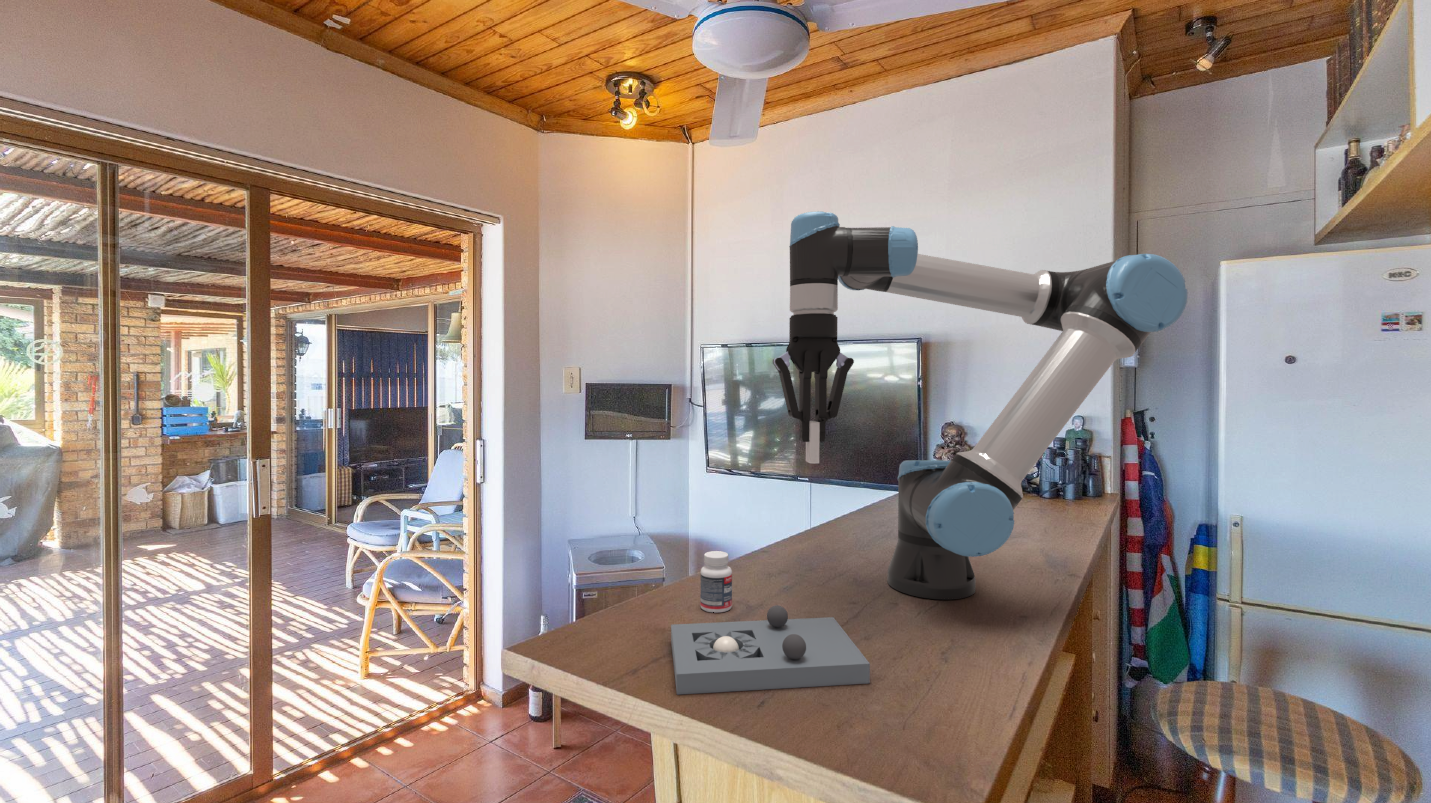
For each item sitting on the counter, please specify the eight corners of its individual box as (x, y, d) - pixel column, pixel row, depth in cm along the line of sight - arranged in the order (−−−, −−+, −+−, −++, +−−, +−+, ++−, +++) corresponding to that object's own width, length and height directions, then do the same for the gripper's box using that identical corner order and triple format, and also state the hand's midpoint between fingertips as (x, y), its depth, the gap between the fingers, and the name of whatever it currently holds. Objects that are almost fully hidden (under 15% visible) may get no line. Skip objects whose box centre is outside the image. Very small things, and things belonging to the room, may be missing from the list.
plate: (833, 633, 93) (833, 617, 93) (869, 683, 78) (869, 663, 78) (671, 641, 90) (671, 624, 90) (676, 694, 75) (676, 674, 75)
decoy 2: (802, 652, 81) (802, 629, 81) (808, 663, 78) (809, 639, 78) (779, 653, 81) (780, 630, 80) (785, 664, 78) (785, 640, 77)
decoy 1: (785, 622, 91) (785, 601, 91) (790, 630, 88) (790, 609, 88) (764, 623, 90) (765, 602, 90) (769, 631, 87) (769, 610, 87)
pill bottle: (728, 614, 100) (728, 560, 100) (697, 612, 101) (697, 558, 101) (734, 602, 105) (734, 550, 105) (704, 600, 106) (704, 549, 106)
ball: (733, 628, 85) (708, 635, 85) (737, 640, 82) (711, 647, 81) (739, 652, 85) (714, 659, 85) (743, 665, 82) (717, 672, 82)
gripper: (845, 316, 103) (844, 458, 105) (768, 315, 102) (767, 459, 103) (861, 312, 96) (859, 465, 97) (778, 311, 95) (777, 466, 96)
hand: (812, 462), depth 100 cm, fingers closed
